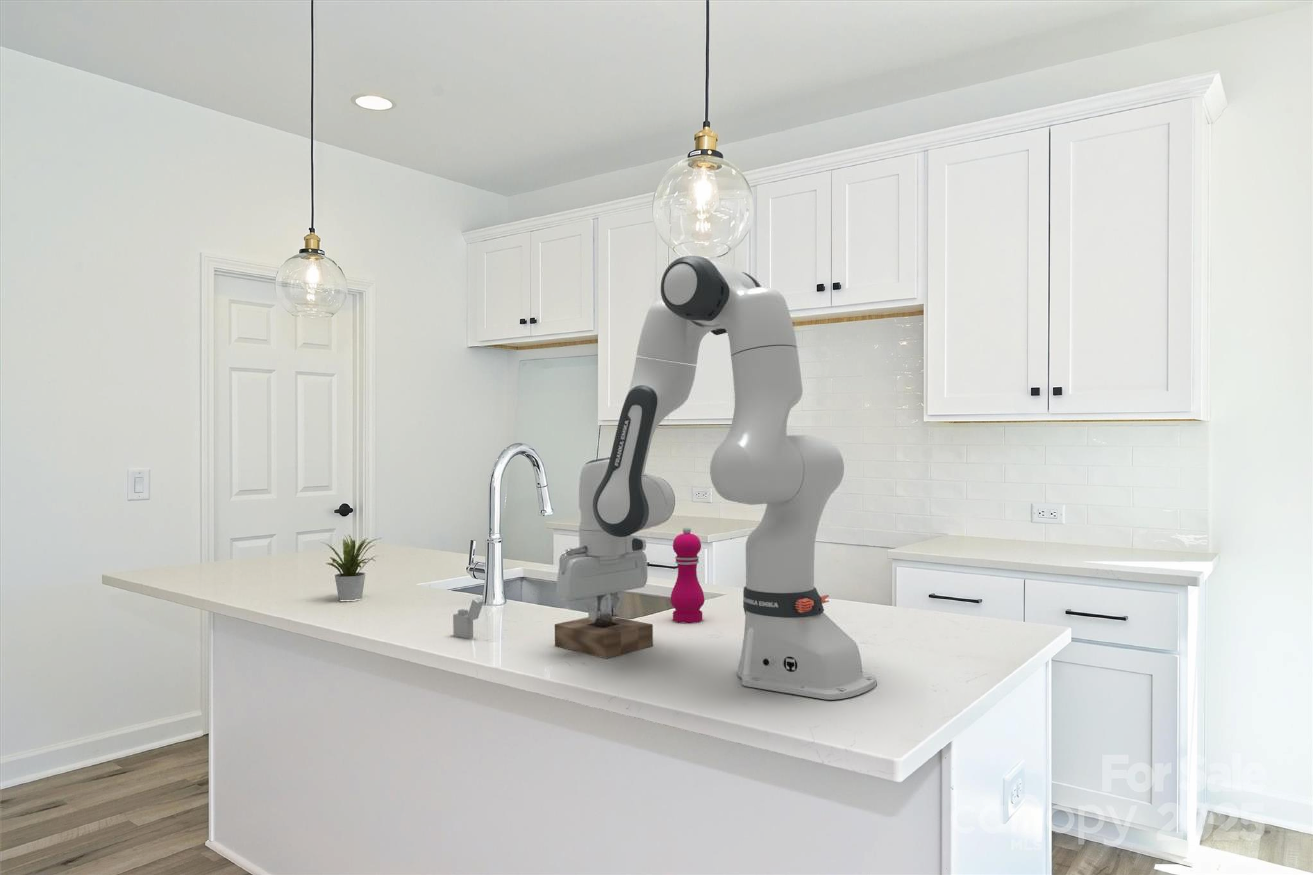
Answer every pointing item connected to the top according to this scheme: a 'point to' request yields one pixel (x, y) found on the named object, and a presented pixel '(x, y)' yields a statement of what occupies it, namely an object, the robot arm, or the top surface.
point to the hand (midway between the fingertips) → (603, 617)
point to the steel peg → (604, 610)
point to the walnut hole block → (604, 636)
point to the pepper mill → (687, 579)
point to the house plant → (350, 570)
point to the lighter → (466, 619)
